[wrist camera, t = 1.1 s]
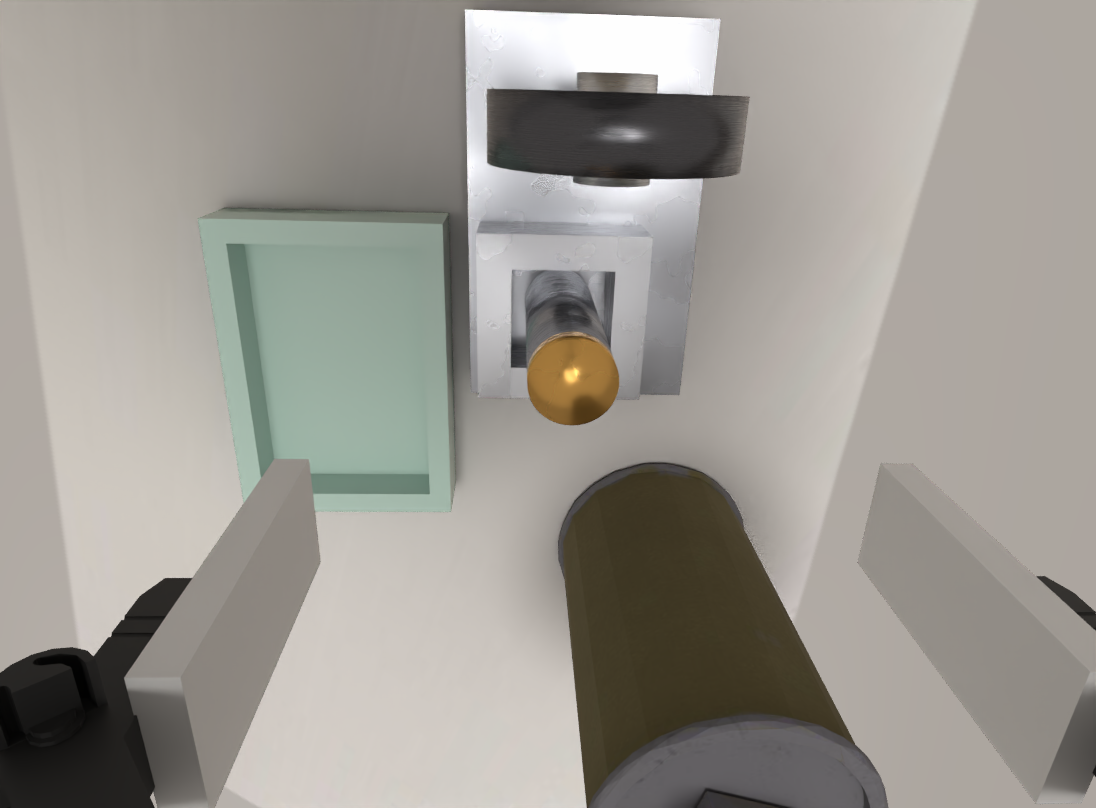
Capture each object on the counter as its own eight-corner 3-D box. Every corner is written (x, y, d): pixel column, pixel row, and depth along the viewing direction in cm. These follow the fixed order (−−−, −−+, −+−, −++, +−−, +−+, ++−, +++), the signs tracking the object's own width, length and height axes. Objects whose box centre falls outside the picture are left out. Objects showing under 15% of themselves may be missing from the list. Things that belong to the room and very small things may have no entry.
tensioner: (468, 14, 29) (442, -27, 19) (708, 23, 30) (804, -13, 20) (473, 377, 36) (455, 488, 26) (671, 379, 36) (730, 489, 26)
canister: (532, 592, 41) (543, 991, 23) (598, 438, 37) (675, 768, 19) (702, 637, 43) (839, 1041, 25) (781, 495, 39) (1012, 847, 21)
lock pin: (525, 267, 32) (528, 338, 23) (592, 269, 32) (622, 339, 23) (524, 332, 33) (526, 424, 24) (589, 333, 33) (616, 425, 24)
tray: (224, 207, 32) (197, 218, 29) (448, 213, 33) (442, 224, 30) (264, 480, 38) (244, 511, 35) (455, 481, 38) (450, 511, 35)
